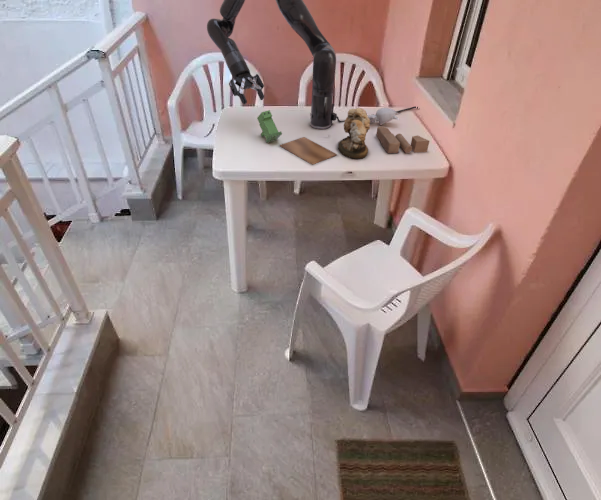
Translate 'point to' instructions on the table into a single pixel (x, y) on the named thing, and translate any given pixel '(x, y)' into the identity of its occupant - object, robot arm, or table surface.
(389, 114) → the toy creature
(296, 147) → the wooden board
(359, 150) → the tan lumpy upright piece
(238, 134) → the table surface
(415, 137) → the wooden block set
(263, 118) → the toy dinosaur
